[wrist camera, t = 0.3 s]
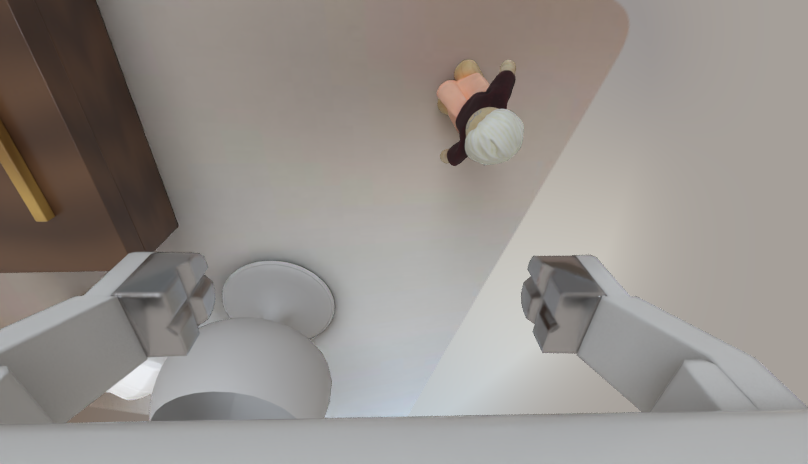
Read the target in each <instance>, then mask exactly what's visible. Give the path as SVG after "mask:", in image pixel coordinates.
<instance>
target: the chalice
mask: <svg viewBox="0 0 808 464" xmlns="http://www.w3.org/2000/svg"><path fill="white" fill-rule="evenodd" d="M222 302H223V305H224V308H225V311H226V313H227V314H228V316H229V317H230V319H225V320H219V321H216V322H213V323H210V324H207V325H205V326H203V327H200V328H198V329H199V332H200V334H199V336H198V338H197V339H196V341H195V343H194V345H193V346H192V348H191V350H190V351H189V353H188V355H187V356H169V357H167V358H166V360H165V362H164V363H163V365H162V367H161V369H160V372H159V374H158V376H157V379H156V382H155V385H154V388H153V392H152V396H151V401H150V410H149V421H196V420H250V419H304V418H324V417H325V415H326V412H327V409H328V405H329V402H330V395H331V386H332V380H331V375H330V370H329V367H328V363H327V362H326V360H325V358H324V356H323V354H322V353H321V351H320V350H319V349H318V348H317V347H316V346H315V345H314V343H313V342H312V341H311V340H310V338H313V337H315V336H316V335H318V334H320V333H321V332H323V331H324V330H325V329H326V328H327V326H328V325H329V324H330V322H331V320H332V318H333V316H334V310H335V305H334V299H333V296H332V294H331V291H330V290H329V288H328V287H327V286H326V284H325V283H324V282H323V281H322V280H321V279H320V278H319V277H317V276H316V275H315V274H314V273H312V272H310V271H308V270H307V269H305V268H303V267H300V266H297V265H295V264H292V263H287V262H281V261H260V262H255V263H250V264H248V265H246V266H243V267H241V268H239V269H238V270H236V271H235V272H234V273H232V274H231V275H230V277H229V278H228V279H227V281H226V282H225V284H224V287H223V290H222Z"/></svg>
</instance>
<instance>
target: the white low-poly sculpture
mask: <svg viewBox="0 0 808 464" xmlns="http://www.w3.org/2000/svg"><path fill="white" fill-rule="evenodd" d="M147 358H148V359H147V360H146V361H145V362H144V363H142V364H141V365H140V366H138V367H137V368H136V369H135V370H133V371H132V372H131V373H129V374H128V375H127V376H125V377H124V378H123V379H122V380H120V381H119V382H118V383H116V384H115V385H114V386H113V387H111V388H110V389H109V390H107V391H106V392H110V393H112V394H114V395H117V396H118V397H120V398H123V399H126V400H136V399H140V398H142V397H145V396H146V395H149V394H152V392H153V388H154V385H155V382H156V379H157V376H158V374H159V372H160V369H161V367H162V365H163V363H164V362H165V360H166V358H167V357H147Z"/></svg>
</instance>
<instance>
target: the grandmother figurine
mask: <svg viewBox="0 0 808 464" xmlns="http://www.w3.org/2000/svg"><path fill="white" fill-rule="evenodd" d="M515 71H516V65H515V63H514V62H513V61H511V60H506V61H504V62H503V63H502V64H501V66H500V71H499V74H498V75H497V76H496V78H495V79H494V80H493V82H492V83H491V84H490V85H489V83H488V81H487V80H486V79H485V78H484V76H483V74H482V72H481V71H480V69H479V67H478V65H477V64H476V63H475V62H474V61H473V60H464V61H462V62H461V63H460V64H459V65H458V66H457V67H456V69H455V72H454V78H455V80H456V81H455V80H448V81H445V82H444V83H442V84H441V85H440V86H439V88H438V91H437V96H438V98H439V99H438V108H439V110H440V111H441V112H442V113H444V114H447V115H449V117H450V119H451V121H452V123H453V124H454V126H455V128H456V130H457V132H458V133H459V135H460V141H459V142H458V143H456V144H455V145H453V146H452V147H451V148H450V149H445V150H443V151H442V152H441V154H440V159H441V161H442V162H444V163H450V164H451V165H453V166H456V165H458V164H460V163H461V162H462V161H463V160H464V159H465V158H467V157H469V158H470V159H472V160H474V161H476V162H478V163H481V164H483V165H494V164H500V163H503V162H505V161H508V160H509V159H511V158H512V157H513V156H514V155H515V154H516V153H517V152H518V151H519V149H520V148H521V145H522V141H523V133H524V125H523V123H522V121H521V120H520V119H519V118H518V117H517V115H516V114H515V113H514V112H512V111H510V110H507V102H508V100H509V98H510V96H511V93H512V89H513V86H514V84H515Z"/></svg>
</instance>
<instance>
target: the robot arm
mask: <svg viewBox="0 0 808 464" xmlns="http://www.w3.org/2000/svg"><path fill="white" fill-rule="evenodd" d="M207 269H208V265H207V262H206V260H205V257H204V256H203V255H201V254H200V253H180V252H133V253H129V254H128V255H127V256H126V257H124V258H123V259H122V260H121V261H120V262H119V263H118V264H117V265H116V266H115V267H114V268H113V269H112V270H110V271H109V272H108V273H107V274H106V275H105V276H104V277H103V278H102V279H101V280H100V281H99V282H98V283H96V284H95V285H94V286H93V287H92V288H91V289H90V290H89V291H88V292H87V293H86V294H85V295H83V296H74V297H72V298H70V299H68V300H65V301H63V302H61V303H58V304H56V305H54V306H52V307H49V308H47V309H45V310H43V311H40V312H38V313H36V314H33V315H31V316H29V317H27V318H24V319H22V320H20V321H18V322H15V323H13V324H11V325H9V326H6V327H4V328H2V329H0V464H808V407H807V406H806V405H805V404H804V403H803V402H802V401H801V400H800V399H799V398H798V397H797V396H796V395H795V394H793V393H792V392H791V391H790V390H789V389H788V388H787V387H786V386H785V385H784V384H783V383H782V382H781V381H780V380H779V379H777V378H776V377H775V376H774V375H773V374H772V373H771V372H770V371H769V370H768V369H767V368H766V367H765V366H764V365H762V364H761V363H760V362H759V361H758V360H757V359H756V358H755V357H753V356H751V355H749V354H747V353H745V352H743V351H741V350H740V349H738V348H736V347H733V346H732V345H730V344H728V343H726V342H724V341H722V340H720V339H718V338H716V337H714V336H712V335H711V334H709V333H707V332H705V331H703V330H701V329H699V328H697V327H695V326H693V325H691V324H689V323H687V322H685V321H683V320H681V319H680V318H678V317H676V316H674V315H672V314H670V313H668V312H666V311H664V310H662V309H660V308H658V307H656V306H654V305H652V304H650V303H649V302H647V301H645V300H643V299H641V298H639V297H637V296H630V295H629V294H628V293H627V292H626V291H625V289H624V288H623V287H622V286H621V285H620V284H619V283H618V282H617V280H616V279H615V278H614V277H613V276H612V275H611V273H610V272H609V271H608V270H607V269H606V268H605V267H604V265H603V264H602V263H601V262H600V261H599V260H598V258H597V257H595V256H592V255H572V256H533V257H532V259H531V260H530V262H529V265H528V271H529V273H530V275H531V277H530V278H528V279H527V280H526V281H525V282H524V283H523V288H522V292H521V304H522V308H523V311H524V314H525V316H526V318H527V319H528V320H530V321H531V322H532V323H534V324H535V326H534V329H533V333H534V336H535V338H536V340H537V342H538V344H539V346H540V348H541V350H542V353H577V356H578V357H579V358H581V359H582V360H583V361H584V362H585V363H586V364H587V365H589V366H590V367H591V368H592V369H593V370H595V372H597V373H598V374H599V375H600V376H601V377H602V378H604V379H605V380H606V381H607V382H608V383H609V384H610V385H612V386H613V387H614V388H615V389H616V390H617V391H619V392H620V393H621V394H622V395H623V396H624V397H625V398H626V399H628V400H629V401H630V402H631V403H632V404H633V405H635V406H636V407H637V408H638V409H639V410H640V411H641V412H628V413H577V414H576V413H573V414H519V415H466V416H415V417H413V416H412V417H358V418H304V419H250V420H196V421H145V422H144V421H143V422H90V423H66V422H67V421H69V420H70V419H71V418H73V417H74V416H75V415H76V414H78V413H79V412H80V411H82V410H83V409H84V408H85V407H87V406H88V405H89V404H91V403H92V402H93V401H95V400H96V399H97V398H98V397H100V396H101V395H102V394H104V393H105V392H106V391H107V390H109V389H110V388H111V387H113V386H114V385H115V384H116V383H118V382H119V381H120V380H122V379H123V378H124V377H125V376H127V375H128V374H129V373H131V372H132V371H133V370H135V369H136V368H137V367H138V366H140V365H141V364H142V363H144V362H145V361H146V360H147V359H148V358H147V357H169V356H187V355H188V353H189V351H190V350H191V348H192V346H193V345H194V343H195V341H196V339H197V338H198V336H199V334H200V332H199V329H198V326H199V325H200V324H202V323H203V322H205V321H206V320H208V319H209V317H210V315H211V313H212V311H213V308H214V304H215V299H216V298H215V288H214V284H213V282H212V281H211V280H210V279H209V278H208V277H206V276H205V275H204V274H205V272H206V270H207Z"/></svg>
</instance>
